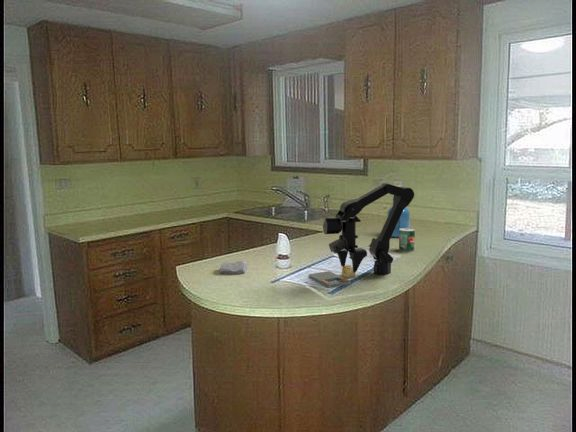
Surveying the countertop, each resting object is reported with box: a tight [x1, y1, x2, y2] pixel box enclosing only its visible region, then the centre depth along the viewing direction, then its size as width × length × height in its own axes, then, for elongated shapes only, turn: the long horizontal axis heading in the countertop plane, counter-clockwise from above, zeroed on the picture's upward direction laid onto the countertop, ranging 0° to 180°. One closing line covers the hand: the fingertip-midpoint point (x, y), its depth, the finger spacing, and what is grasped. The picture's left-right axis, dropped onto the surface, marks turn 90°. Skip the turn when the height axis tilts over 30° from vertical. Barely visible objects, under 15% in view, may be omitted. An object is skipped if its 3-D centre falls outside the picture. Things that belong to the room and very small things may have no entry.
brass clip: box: [341, 264, 356, 278], centre depth 196 cm, size 4×4×4 cm
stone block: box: [219, 260, 248, 275], centre depth 210 cm, size 12×5×10 cm
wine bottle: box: [386, 185, 411, 239], centre depth 278 cm, size 14×13×30 cm
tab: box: [338, 273, 359, 280], centre depth 196 cm, size 6×7×1 cm
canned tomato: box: [398, 227, 416, 253], centre depth 243 cm, size 8×8×11 cm
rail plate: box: [308, 270, 352, 289], centre depth 191 cm, size 10×17×2 cm, turn 24°
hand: (348, 269), depth 196 cm, fingers open, 9 cm apart
